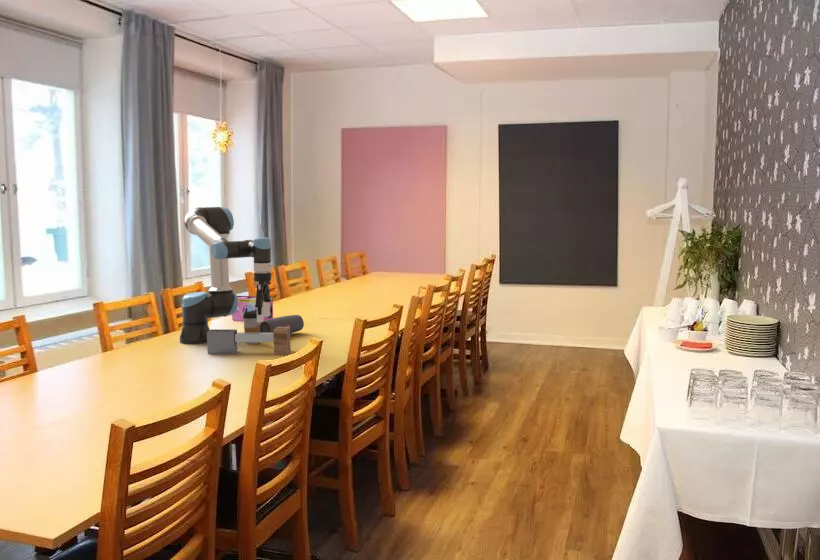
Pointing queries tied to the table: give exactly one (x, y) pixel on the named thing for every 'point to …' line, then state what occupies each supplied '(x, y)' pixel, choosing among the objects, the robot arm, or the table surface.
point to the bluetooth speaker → (282, 324)
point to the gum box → (249, 307)
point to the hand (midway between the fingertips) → (263, 319)
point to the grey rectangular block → (221, 342)
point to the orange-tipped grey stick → (253, 337)
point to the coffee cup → (251, 323)
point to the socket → (282, 340)
